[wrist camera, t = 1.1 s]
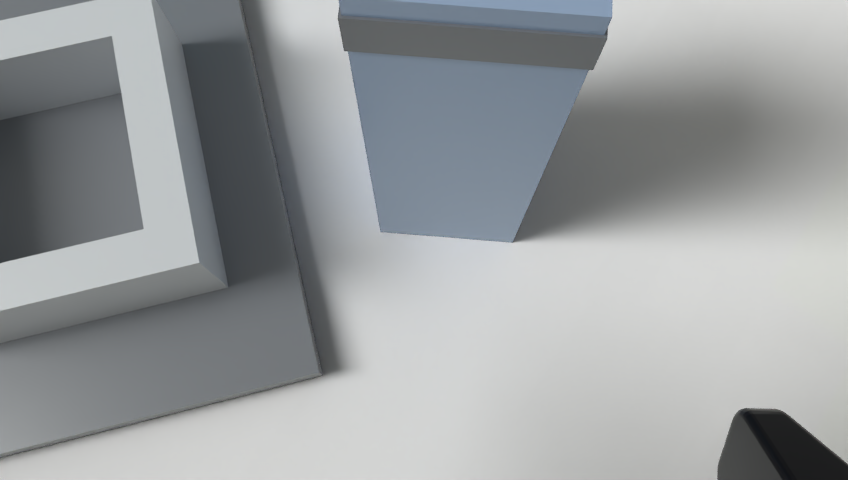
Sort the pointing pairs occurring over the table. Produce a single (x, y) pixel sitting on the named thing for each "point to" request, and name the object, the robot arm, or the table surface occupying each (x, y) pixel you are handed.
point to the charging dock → (138, 219)
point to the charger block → (465, 104)
